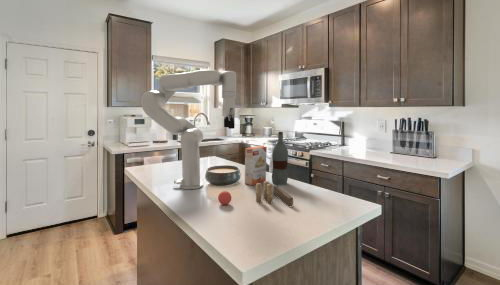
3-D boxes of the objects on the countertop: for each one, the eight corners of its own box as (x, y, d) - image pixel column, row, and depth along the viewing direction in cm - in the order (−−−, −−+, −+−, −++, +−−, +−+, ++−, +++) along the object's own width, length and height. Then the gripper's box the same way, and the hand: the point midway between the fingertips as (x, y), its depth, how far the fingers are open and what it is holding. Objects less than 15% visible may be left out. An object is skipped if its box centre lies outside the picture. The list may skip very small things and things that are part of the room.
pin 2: (267, 203, 130) (268, 185, 129) (266, 201, 132) (266, 184, 131) (272, 203, 130) (273, 185, 129) (271, 201, 133) (271, 183, 132)
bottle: (286, 181, 169) (287, 131, 166) (288, 185, 160) (290, 132, 157) (270, 181, 169) (271, 131, 165) (272, 185, 160) (273, 132, 156)
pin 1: (264, 200, 135) (264, 182, 134) (263, 198, 137) (263, 181, 136) (269, 199, 135) (269, 182, 134) (267, 198, 138) (267, 181, 136)
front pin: (256, 202, 131) (257, 184, 130) (255, 200, 133) (255, 183, 132) (261, 202, 132) (262, 184, 131) (260, 200, 134) (260, 183, 133)
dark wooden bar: (288, 206, 126) (288, 198, 125) (273, 193, 145) (273, 186, 144) (292, 206, 126) (293, 197, 126) (277, 193, 145) (277, 185, 145)
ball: (219, 207, 125) (219, 193, 124) (217, 202, 131) (217, 190, 130) (232, 205, 126) (232, 192, 126) (230, 201, 132) (230, 189, 131)
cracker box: (252, 185, 159) (253, 149, 156) (244, 184, 162) (244, 148, 160) (266, 180, 170) (267, 146, 167) (258, 179, 174) (258, 145, 171)
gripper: (218, 95, 156) (218, 126, 158) (225, 94, 140) (225, 129, 142) (231, 96, 159) (231, 126, 161) (240, 94, 142) (240, 128, 144)
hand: (229, 127), depth 151 cm, fingers open, 9 cm apart
